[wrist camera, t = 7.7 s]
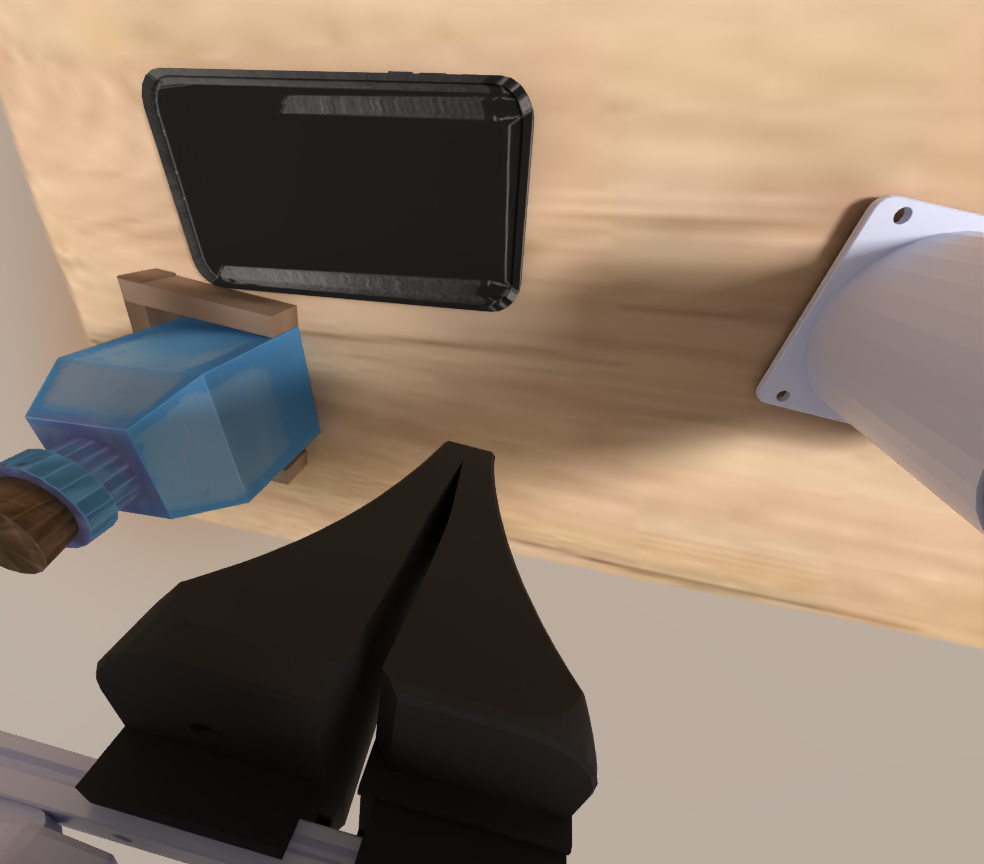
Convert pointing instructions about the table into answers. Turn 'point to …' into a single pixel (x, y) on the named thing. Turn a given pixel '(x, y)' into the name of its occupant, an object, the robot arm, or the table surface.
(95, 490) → the perfume bottle
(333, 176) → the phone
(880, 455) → the table surface
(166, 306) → the bracket
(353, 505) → the table surface
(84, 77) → the table surface
